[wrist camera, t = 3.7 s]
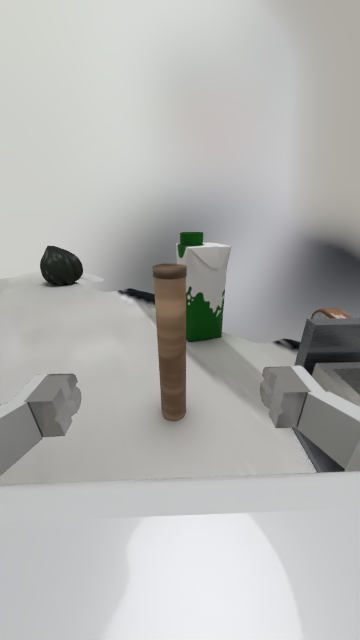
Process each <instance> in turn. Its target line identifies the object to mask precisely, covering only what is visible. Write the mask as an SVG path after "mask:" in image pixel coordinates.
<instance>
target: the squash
mask: <svg viewBox="0 0 360 640" xmlns="http://www.w3.org/2000/svg"><path fill="white" fill-rule="evenodd" d="M40 269H41V273H42V276H43V277H44V279H45V280H46V281H47V282H49V283H51V284H55V285H64V284H66V283H67V284H72V283H73V282H74V281H77V280H79V278H80V277H81V276H82V274H83V268H82V264H81V262H80V260H79V259H78V257H76V256H75V255H74V254H72V253H70V252H69V251H67V250H64V249H61V248H58V247H55V246H48V247H47V248H46V250H45V253H44V255H43V257H42V259H41V263H40Z"/></svg>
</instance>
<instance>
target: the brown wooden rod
mask: <svg viewBox="0 0 360 640" xmlns="http://www.w3.org/2000/svg"><path fill="white" fill-rule="evenodd" d="M186 276H187V266H186V265H183V264H159V265H155V266H153V277H154V289H155V306H156V322H157V338H158V355H159V371H160V387H161V404H162V414H163V416H164V417H165V418H166V419H168V420H171V421H176V420H179V419H181V418H182V417H183V416H184V415H185V413H186Z"/></svg>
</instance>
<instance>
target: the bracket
mask: <svg viewBox="0 0 360 640" xmlns="http://www.w3.org/2000/svg"><path fill="white" fill-rule="evenodd" d="M297 365H300V366H302V367H303V368H304V369H305V370H306V371H307V372H308V373H309V374H310V375H311V376H312V377H313V379H314V380H315V381H316V382H317V383H318V384H319V385H320V386H321V387H322V388H323V390H324V391H325V392H331V393H333V394H335V395H337V396H339V397H341V398H343V399H345V400H347V401H349V402H351V403H353V404H355V405H357V406H359V407H360V318H334V319H307V321H306V325H305V328H304V332H303V336H302V340H301V343H300V347H299V351H298V354H297V358H296V362H295V366H297ZM293 430H294V432H295V433H296V435H297V437H298V439H299V440H300V442H301V444H302V446H303V447H304V449H305V451H306V453H307V455H308V456H309V458H310V460H311V462H312V463H313V465H314V467H315V469H316V470H317V472H318V473H322V472H344V471H345V469H344V468H343V467H342V466H340V465H339V464H338V463H337V462H336V461H335V460H333V459H332V458H331V457H330V456H329V455H327V454H326V453H325V452H324V451H323V450H322V449H320V448H319V447H318V446H317V445H316V444H314V443H313V442H312V441H311V440H310V439H308V438H307V437H306V436H305V435H304V434H303V433H301V432H300V431H299V430H298V429H297V428H293Z"/></svg>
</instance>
